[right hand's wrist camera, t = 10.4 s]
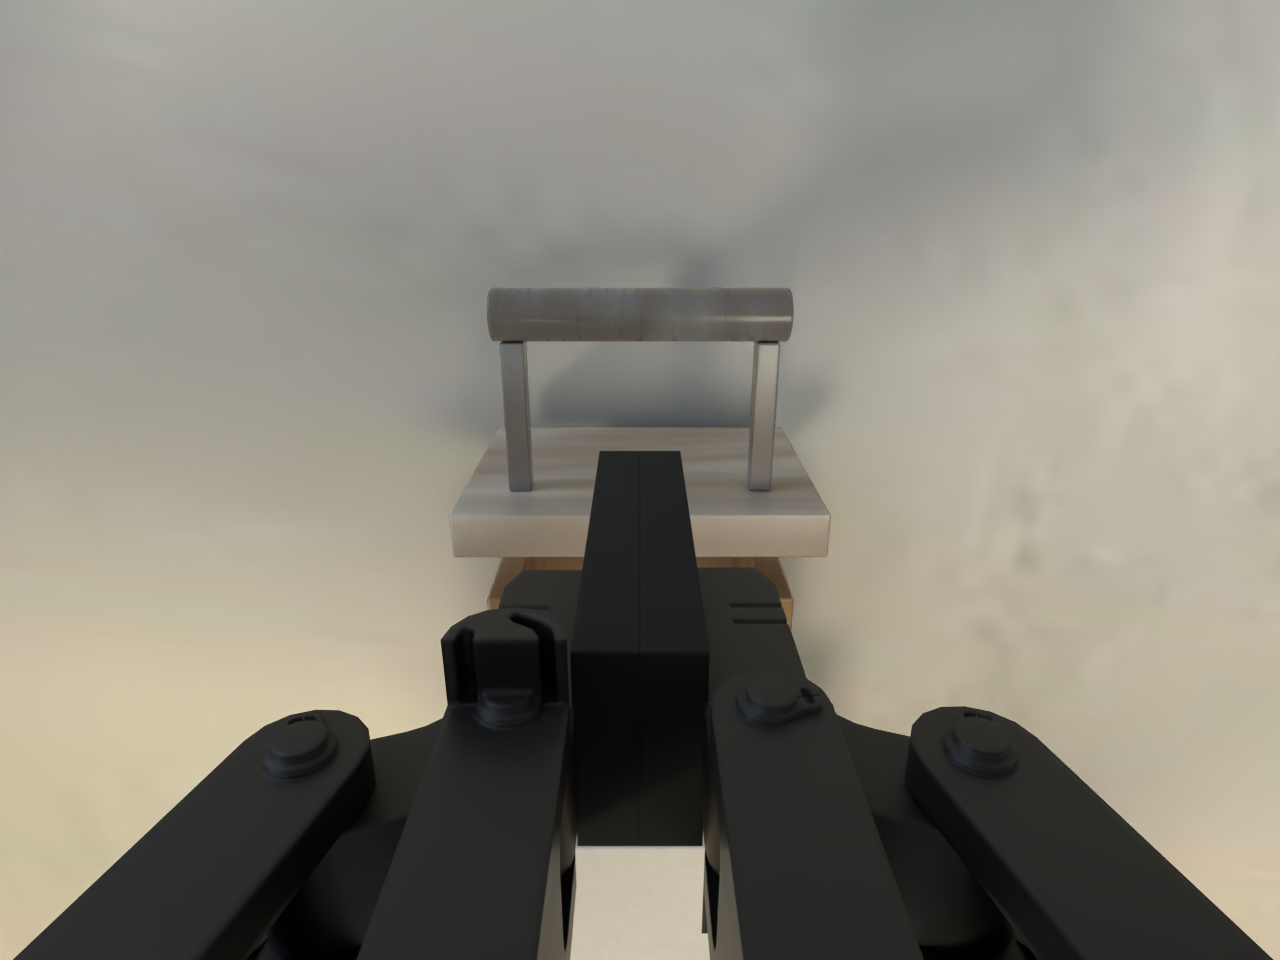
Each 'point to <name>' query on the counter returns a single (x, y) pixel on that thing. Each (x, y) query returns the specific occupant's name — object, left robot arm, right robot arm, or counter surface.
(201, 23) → the counter surface
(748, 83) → the counter surface
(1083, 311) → the counter surface
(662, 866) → the cabinet
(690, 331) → the drawer
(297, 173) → the counter surface
